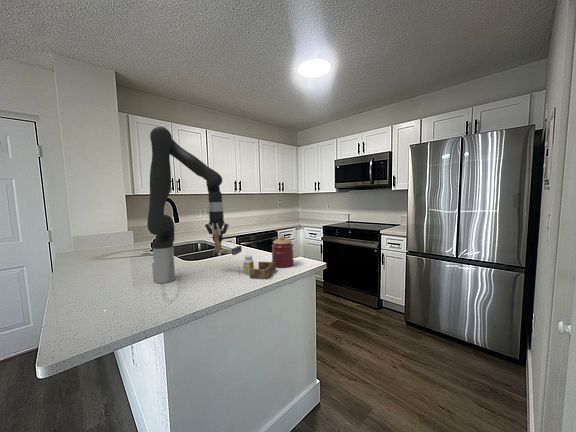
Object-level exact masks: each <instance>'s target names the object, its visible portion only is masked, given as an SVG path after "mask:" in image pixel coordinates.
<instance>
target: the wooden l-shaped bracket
mask: <svg viewBox="0 0 576 432" xmlns="http://www.w3.org/2000/svg"><path fill="white" fill-rule="evenodd" d="M214 240H215V242H214V253H215V254H231V255H232V256H236V255H238V254H239V253H242V251H243V249H242V245H238V246H235V247H233V248H231V249H222V242H219V233H218V230H217V229H215V230H214Z"/></svg>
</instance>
